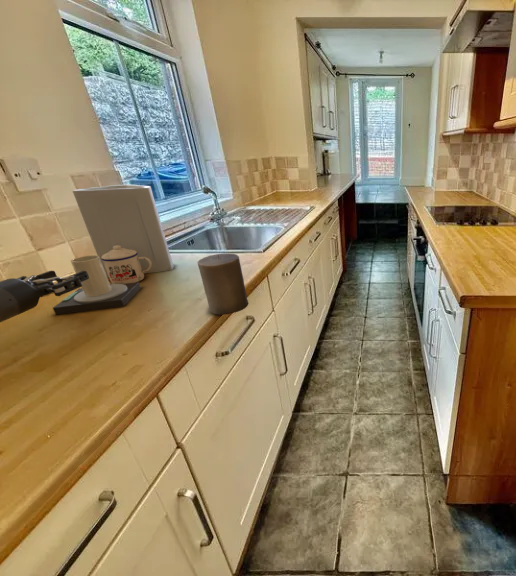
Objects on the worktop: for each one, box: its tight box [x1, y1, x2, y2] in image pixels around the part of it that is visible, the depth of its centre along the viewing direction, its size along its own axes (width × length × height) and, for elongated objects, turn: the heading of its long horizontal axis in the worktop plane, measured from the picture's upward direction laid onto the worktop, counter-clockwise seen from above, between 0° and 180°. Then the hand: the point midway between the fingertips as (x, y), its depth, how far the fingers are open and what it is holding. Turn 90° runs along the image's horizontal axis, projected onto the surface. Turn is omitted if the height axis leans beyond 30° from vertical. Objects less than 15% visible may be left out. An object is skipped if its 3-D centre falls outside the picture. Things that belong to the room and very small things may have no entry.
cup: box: [70, 254, 112, 297], centre depth 87 cm, size 6×6×10 cm
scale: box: [52, 281, 142, 315], centre depth 90 cm, size 15×13×2 cm
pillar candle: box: [197, 252, 249, 316], centre depth 83 cm, size 10×10×15 cm
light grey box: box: [72, 183, 174, 279], centre depth 109 cm, size 19×15×28 cm
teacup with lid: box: [101, 245, 151, 284], centre depth 102 cm, size 12×9×12 cm
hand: (70, 274), depth 81 cm, fingers open, 8 cm apart
